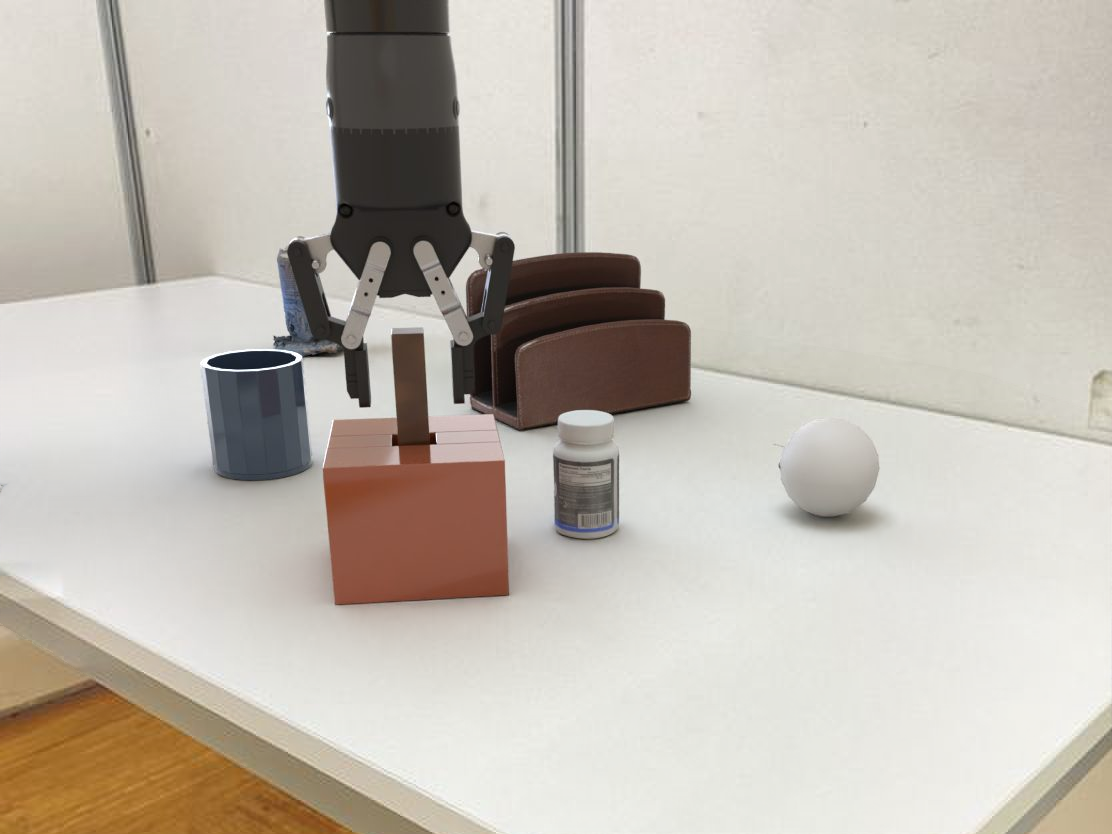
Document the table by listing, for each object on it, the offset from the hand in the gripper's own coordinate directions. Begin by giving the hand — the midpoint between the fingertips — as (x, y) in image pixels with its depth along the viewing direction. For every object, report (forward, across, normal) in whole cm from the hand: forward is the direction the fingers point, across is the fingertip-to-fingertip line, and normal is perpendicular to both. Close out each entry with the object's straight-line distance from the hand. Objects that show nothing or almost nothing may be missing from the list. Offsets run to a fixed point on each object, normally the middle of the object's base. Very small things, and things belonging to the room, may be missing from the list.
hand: (411, 401), depth 80 cm
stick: (+11, 0, 0) cm, 11 cm away
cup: (+11, +13, -25) cm, 30 cm away
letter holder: (+12, -16, -41) cm, 45 cm away
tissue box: (+11, 0, 0) cm, 11 cm away
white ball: (+12, -30, -8) cm, 33 cm away
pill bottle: (+12, -12, -6) cm, 18 cm away
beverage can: (+12, +12, -70) cm, 72 cm away
